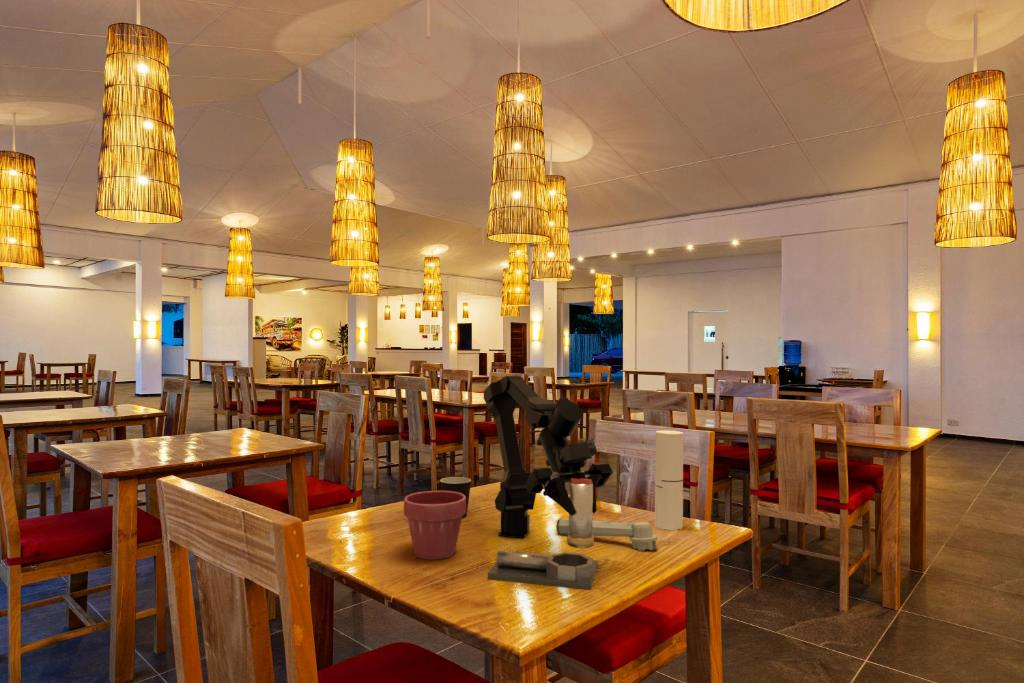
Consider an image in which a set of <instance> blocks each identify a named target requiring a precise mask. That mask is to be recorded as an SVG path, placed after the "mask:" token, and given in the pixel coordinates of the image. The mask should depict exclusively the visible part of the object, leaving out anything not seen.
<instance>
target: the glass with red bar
mask: <svg viewBox="0 0 1024 683" xmlns="http://www.w3.org/2000/svg"><path fill="white" fill-rule="evenodd" d="M568 488H569V490H568V491H569V492H568V493H569V494H568V495H569V498H570V500H571V503H572V505H573V508H574V511H575V514H574V515H573V516H571V515H570V514H569V513H568V519H569V533H568V534H567V535H566V537H567V538H566V540H567V541H566V544H567V546H569V547H572V548H575V549H589V548H592V547H594V545H595V544H594V543H595V541H594V540H595V536H594V535H593V534H592V527H593V521H594V520H593V517H594V515H593V514H594V513H593V482H592V479H584V478H576V477H573V478H571V481H570V482H569V486H568Z"/></svg>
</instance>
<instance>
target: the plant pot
mask: <svg viewBox="0 0 1024 683" xmlns="http://www.w3.org/2000/svg"><path fill="white" fill-rule="evenodd" d="M465 513H466V497H465V495H464V494H462V493H458V492H453V491H441V490H429V491H428V490H426V491H418V492H414V493H410V494H407V495H406V496H404V499H403V515H404V516H405V517H406V518H407V521H408V529H409V532H410V537H411V542H412V547H413V551H414V552H413V553H414V555H415V556H416V557H417V558H420V559H423V560H424V559H425V560H441V559H442V560H443V559H447V558H450V557H452V556H454V555H455V553H456V548H457V543H458V538H459V533H460V530H461V525H462V516H463V515H465Z"/></svg>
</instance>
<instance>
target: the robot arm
mask: <svg viewBox="0 0 1024 683" xmlns="http://www.w3.org/2000/svg"><path fill="white" fill-rule="evenodd" d="M483 400H484V402H485V405H486V408H487V411H488V412H489V414H491V416H492V417H493V419H495V424H496V425H495V426H496V431H497V435H498V436H497V437H498V443H499V448H500V454H501V460H502V465H503V475H502V478H501V481H500V482H499V487H500V489H499V492H498V493H497V496H496V497H495V499H494V506H495V509H496V510H497V511H499V512H500V532H499V533H498V536H499V537H506V538H507V537H509V538H518V539H524V538H525V537H526V536H527V535H528V533H529V532H530V529H531V528H530V526H531V525H530V524H531V522H530V521H531V520H530V519H531V518H530V517H531V516H530V514H529V513H528V511H530V510H531V511H533V510H534V506H535V501H536V496H537V494H541V493H542V494H543V496H544V497H545V496H546V497H548V498H550V499H551V500H552V501H554V502H555V503H556V504H557V505H559V506H560V507H561V508H562V509H563V510H565V512H566V513H568V515H569V514H570V515H571V516H573V515H574V514H575V511H574V508H573V505H572V503H571V500H570V498H569V494H568V493H569V492H568V491H567V489H566V483H570V481H571V478H573V477H576V478H584V479H592V482H593V514H595V513H596V512H597V510H598V509H597V491H596V490H597V488H601V487H603V486H605V484H606V483H607V482H608V481H609V479H610V477H611V476H612V475H613V473H614V470H613V469H612V466H611V465H610V463H607V462H596V463H592V464H591V466H590V467H589V469H588V470H581V468H584V466H586V463H585V461H587V460H591V459H592V457H594V456H595V455H597V453H598V450H597V445H596V444H595V442H594V440H592V439H591V440H589V439H588V440H585V441H583V442H580V443H579V442H578V443H576V442H575V443H570V441H569V439H568V437H571V436H572V435H573V434H574V432H575V430H576V429H577V427H578V425H579V423H580V422H581V421H582V419H583V415H584V412H583V411H584V410H583V409H582V408H581V407H580V406H579V405H578V404H577V403H575V402H572V401H570V399H569V397H559V399H558V400H557V403H556V402H555V401H553V400H551V399H547V398H543V397H541V396H540V395H539V394H538V393H537V392H536V391H534V389H532V388H531V387H530V385H528V383H526V381H525V380H524V377H523V376H520V375H505V376H502V378H500V379H499V380H497V381H494V382H492V383H490V384H489V385H488V386H487V387H486V388H485V389H484V390H483ZM518 405H519V407H520V408H521V409H523V410H524V412H525V414H524V420H525V421H526V422H527V424H528V425H529V427H530V428H531V429H541V431H540V433H539V434H538V438H537V439H536V445H537V446H542V449H543V452H544V453H545V455H546V458H547V459H546V461H545V465H546V466H547V467H546V466H545V467H537V468H533V469H532V471H531V472H530V471H529V472H527V471H526V470H525V468H524V466H523V461H522V456H521V451H520V445H519V439H518V433H517V428H516V423H515V418H514V414H515V410H516V408H517V406H518ZM543 489H544V491H543ZM542 491H543V492H542Z"/></svg>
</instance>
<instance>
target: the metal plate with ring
mask: <svg viewBox="0 0 1024 683" xmlns="http://www.w3.org/2000/svg"><path fill="white" fill-rule="evenodd" d="M598 567H599V560H595V559H594V558H593V557H590V556H587V555H586V554H584V553H580V552H579V553H578V552H577V553H576V552H569V551H568V552H567V551H565V552H557V553H554V554H543V553H542V554H539V553H528V552H518V551H516V552H515V551H509V550H508V551H507V550H498V552H497V556H496V562H495V563H494V565H492V566H491V568H490V569H489V571H487V579H488V580H495V581H496V580H497V581H503V582H513V581H514V583H522V582H523V583H522V584H532V583H533V585H541V584H544V585H543V586H552V587H562V588H571V589H572V588H573V589H578V590H579V589H582V590H592V587H593V584H594V581H595V577H596V573H597V570H598Z"/></svg>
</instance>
